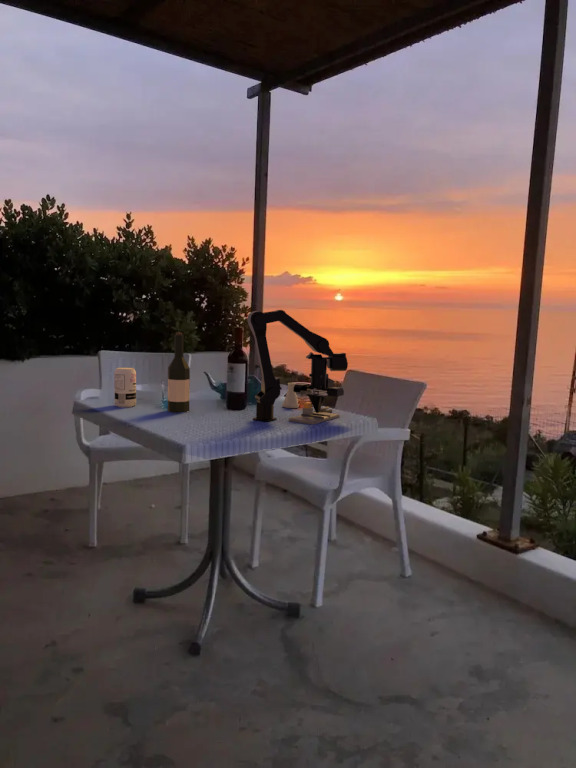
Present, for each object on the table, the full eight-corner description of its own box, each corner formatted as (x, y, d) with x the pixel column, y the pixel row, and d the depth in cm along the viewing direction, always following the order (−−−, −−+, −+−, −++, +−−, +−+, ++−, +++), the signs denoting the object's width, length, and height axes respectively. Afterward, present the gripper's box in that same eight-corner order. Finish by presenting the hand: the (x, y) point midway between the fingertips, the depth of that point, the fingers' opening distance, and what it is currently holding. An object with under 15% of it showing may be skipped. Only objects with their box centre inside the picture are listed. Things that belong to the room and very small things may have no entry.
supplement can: (114, 404, 239) (114, 367, 237) (135, 404, 241) (135, 367, 239) (114, 407, 231) (114, 369, 229) (136, 407, 234) (136, 369, 232)
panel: (312, 424, 210) (312, 420, 210) (288, 421, 215) (289, 416, 215) (339, 416, 227) (339, 412, 226) (316, 413, 232) (317, 409, 232)
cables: (321, 415, 229) (321, 409, 229) (312, 413, 231) (312, 408, 231) (332, 412, 237) (333, 406, 237) (324, 410, 239) (324, 405, 239)
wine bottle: (187, 413, 224) (188, 333, 221) (165, 412, 225) (165, 333, 221) (191, 409, 233) (192, 332, 229) (170, 408, 233) (170, 332, 229)
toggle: (308, 415, 221) (308, 403, 221) (302, 414, 223) (302, 402, 222) (312, 414, 224) (313, 402, 223) (306, 413, 225) (307, 401, 225)
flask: (292, 409, 241) (293, 385, 239) (278, 407, 245) (279, 383, 244) (303, 407, 246) (304, 383, 245) (289, 405, 251) (289, 381, 249)
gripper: (351, 371, 221) (349, 412, 223) (308, 367, 231) (307, 407, 233) (337, 373, 211) (335, 417, 213) (292, 369, 221) (291, 411, 223)
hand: (317, 412), depth 221 cm, fingers closed
